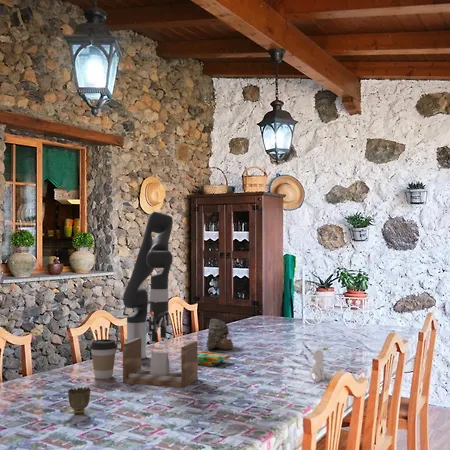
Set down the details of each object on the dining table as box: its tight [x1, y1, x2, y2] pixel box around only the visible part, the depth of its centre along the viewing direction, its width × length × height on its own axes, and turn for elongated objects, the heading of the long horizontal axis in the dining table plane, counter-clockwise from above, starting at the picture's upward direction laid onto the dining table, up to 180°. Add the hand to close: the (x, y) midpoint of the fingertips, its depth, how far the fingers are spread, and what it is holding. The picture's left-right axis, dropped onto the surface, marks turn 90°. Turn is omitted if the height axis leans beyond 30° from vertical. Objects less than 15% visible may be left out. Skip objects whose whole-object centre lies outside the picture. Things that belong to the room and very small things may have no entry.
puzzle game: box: [197, 349, 232, 367], centre depth 282 cm, size 12×5×20 cm
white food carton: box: [149, 351, 170, 376], centre depth 248 cm, size 4×7×10 cm, turn 73°
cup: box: [67, 386, 91, 415], centre depth 205 cm, size 8×7×8 cm
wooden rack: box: [122, 338, 199, 388], centre depth 249 cm, size 27×14×16 cm, turn 72°
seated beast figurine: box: [309, 349, 334, 383], centre depth 251 cm, size 10×9×12 cm
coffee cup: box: [89, 338, 118, 380], centre depth 255 cm, size 11×11×15 cm
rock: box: [206, 318, 234, 351], centre depth 316 cm, size 18×14×15 cm
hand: (159, 339), depth 248 cm, fingers open, 8 cm apart
